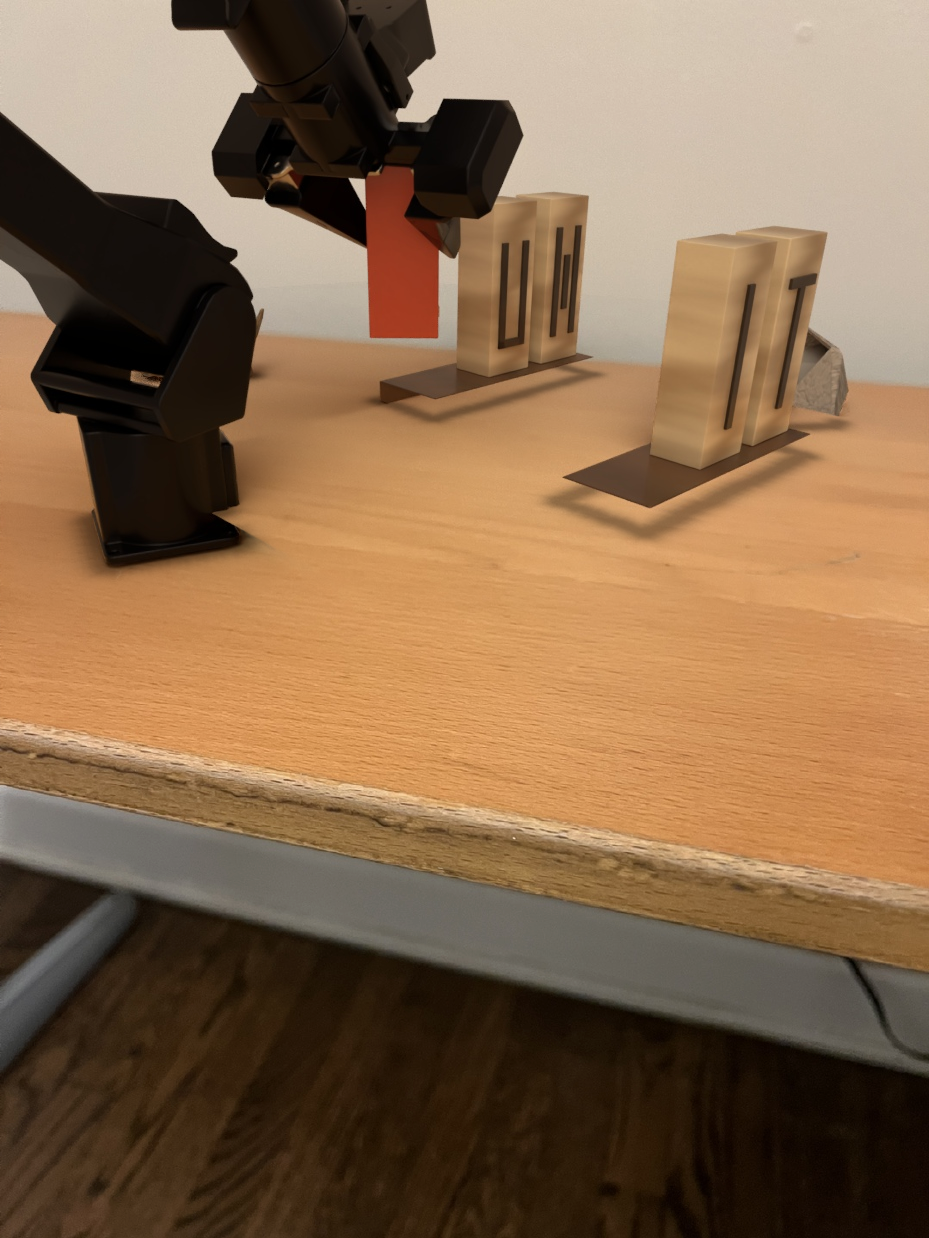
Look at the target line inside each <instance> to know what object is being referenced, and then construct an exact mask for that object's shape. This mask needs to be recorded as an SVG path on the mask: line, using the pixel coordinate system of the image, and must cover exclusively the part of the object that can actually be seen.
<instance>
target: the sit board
mask: <svg viewBox="0 0 929 1238" xmlns="http://www.w3.org/2000/svg"><path fill="white" fill-rule="evenodd" d="M827 240H828V232H827V231H824V230H816V229H815V230H814V229H806V228H798V227H789V226H781V225H770V226H764V227H756V228H750V229H744V230H737V231H735V234H728V233H715V234H710V235H702V236H696V237H690V238H684V239H683V238H682V239H677V241H676V247H675V255H674V263H673V271H672V278H671V286H670V293H669V301H668V309H667V317H666V323H665V326H666V327H665V333H664V340H663V349H662V356H661V364H660V371H659V378H658V379H659V380H658V388H657V395H656V403H655V411H654V419H653V425H652V435H651V441H650V443H647V444H645V445H644V444H643V445H642V446H639V447H636V448H634V449H631V450H629V451H626V452H624V453H621V454H618V455H615V456H613V457H611V458H608V459H605V460H603V461H600V462H598V463H597V462H596V463H594V464H592V465H590V466H587V467H584V468H582V469H579V470H576V471H574V472H571V473H569V474H566V475H563V476H562V479H565V480H568V481H571V482H573V483H576V484H579V485H582V486H585V487H587V488H591V489H594V490H596V491H599V492H602V493H605V494H608V495H611V496H613V497H617V498H619V499H622V500H625V501H627V502H630V503H633V504H636V505H639V506H642V507H644V508H647V509H652V508H654V507H656V506H660V505H661V504H664V503H666V502H668V501H669V500H672V499H673V498H676V497H679V496H681V495H683V494H685V493H687V492H689V491H691V490H693V489H696V488H698V487H700V486H702V485H704V484H706V483H708V482H710V481H711V482H712V481H714V480H715V479H717V478H720V477H722V476H723V475H726V474H727V473H730V472H733V471H734V470H737V469H739V468H741V467H743V466H746V465H747V464H749V463H753V461H756V460H758V459H761V458H762V457H765V456H767V455H769V454H771V453H773V452H776V451H777V450H779V449H782V448H784V447H787V446H789V445H791V444H792V443H795V442H797V441H799V440H801V439H804V438H805V437H808V436H810V435H811V433H809V432H805V431H801V430H798V429H793V428H790V427H789V425H790V419H791V415H792V409H793V406H792V405H793V400H794V395H795V391H796V386H797V381H798V376H799V371H800V366H801V361H802V356H803V351H804V347H805V342H806V337H807V332H808V327H809V328H810V322H811V317H812V312H813V307H814V302H815V298H816V297H815V296H816V292H817V289H818V288H817V287H818V283H819V277H820V273H821V268H822V263H823V259H824V253H825V249H826V243H827Z"/></svg>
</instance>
